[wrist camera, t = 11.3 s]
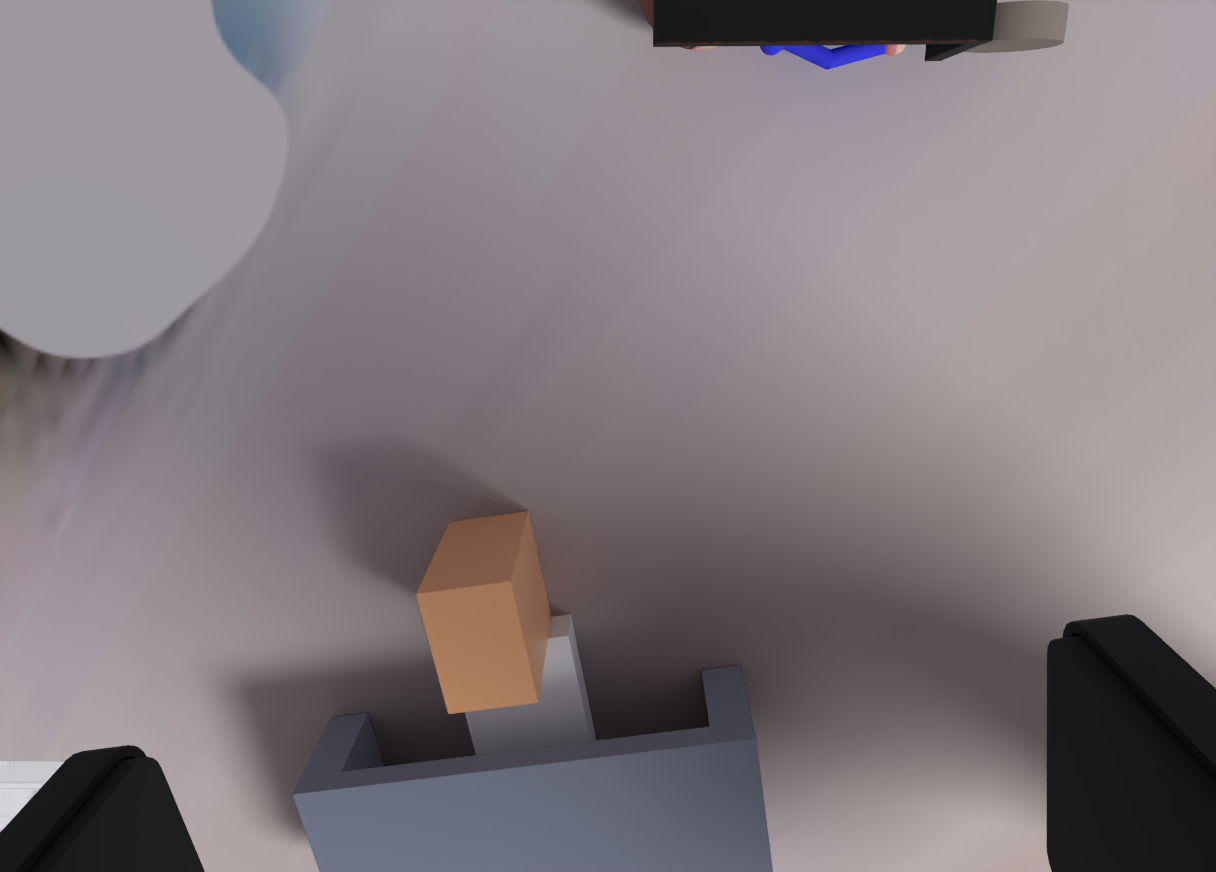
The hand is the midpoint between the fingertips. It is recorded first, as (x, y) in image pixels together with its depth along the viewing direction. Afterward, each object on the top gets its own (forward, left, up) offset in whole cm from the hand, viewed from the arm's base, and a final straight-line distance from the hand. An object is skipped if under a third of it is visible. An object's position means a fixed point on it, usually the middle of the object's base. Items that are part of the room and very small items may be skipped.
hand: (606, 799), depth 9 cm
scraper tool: (+8, +21, -30) cm, 38 cm away
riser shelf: (+8, +25, -30) cm, 40 cm away
